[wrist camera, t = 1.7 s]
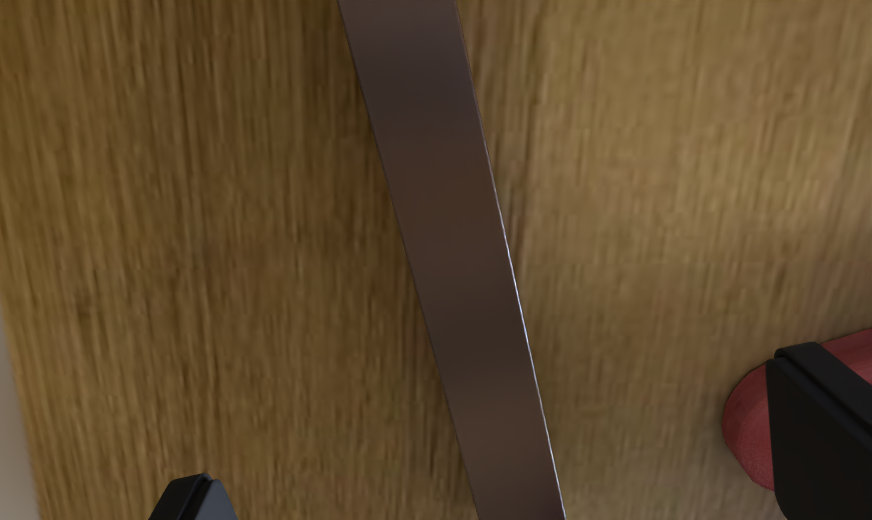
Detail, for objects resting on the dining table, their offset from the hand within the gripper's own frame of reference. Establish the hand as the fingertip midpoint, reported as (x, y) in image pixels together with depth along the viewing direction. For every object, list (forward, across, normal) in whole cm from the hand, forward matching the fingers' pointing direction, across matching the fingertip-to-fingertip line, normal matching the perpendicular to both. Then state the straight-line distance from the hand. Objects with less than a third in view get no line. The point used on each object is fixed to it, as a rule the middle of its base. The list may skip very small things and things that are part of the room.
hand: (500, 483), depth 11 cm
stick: (+8, 0, 0) cm, 8 cm away
